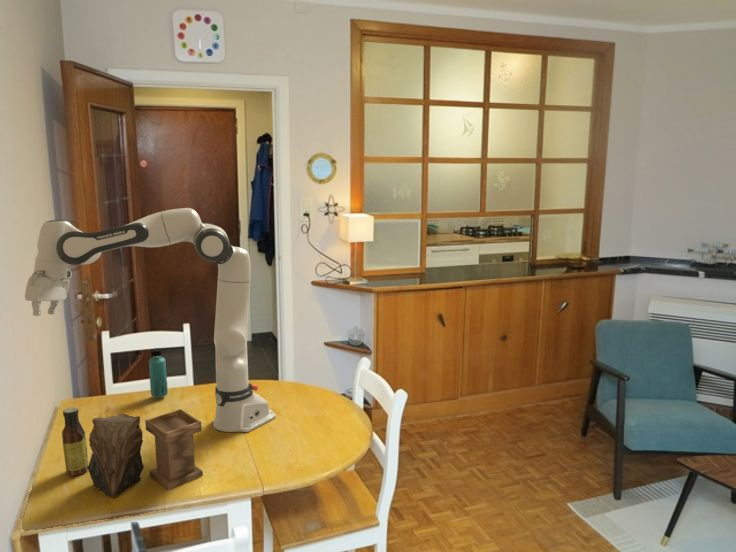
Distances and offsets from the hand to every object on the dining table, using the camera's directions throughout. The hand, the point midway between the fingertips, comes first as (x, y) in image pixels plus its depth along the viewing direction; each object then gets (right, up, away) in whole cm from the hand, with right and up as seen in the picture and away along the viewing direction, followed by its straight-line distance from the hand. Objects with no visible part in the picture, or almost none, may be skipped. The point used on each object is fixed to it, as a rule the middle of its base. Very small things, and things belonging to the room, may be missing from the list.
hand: (44, 315), depth 185 cm
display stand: (+44, -48, -8) cm, 65 cm away
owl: (+28, -49, -14) cm, 58 cm away
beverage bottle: (+19, -36, +49) cm, 64 cm away
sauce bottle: (+13, -47, -6) cm, 49 cm away
